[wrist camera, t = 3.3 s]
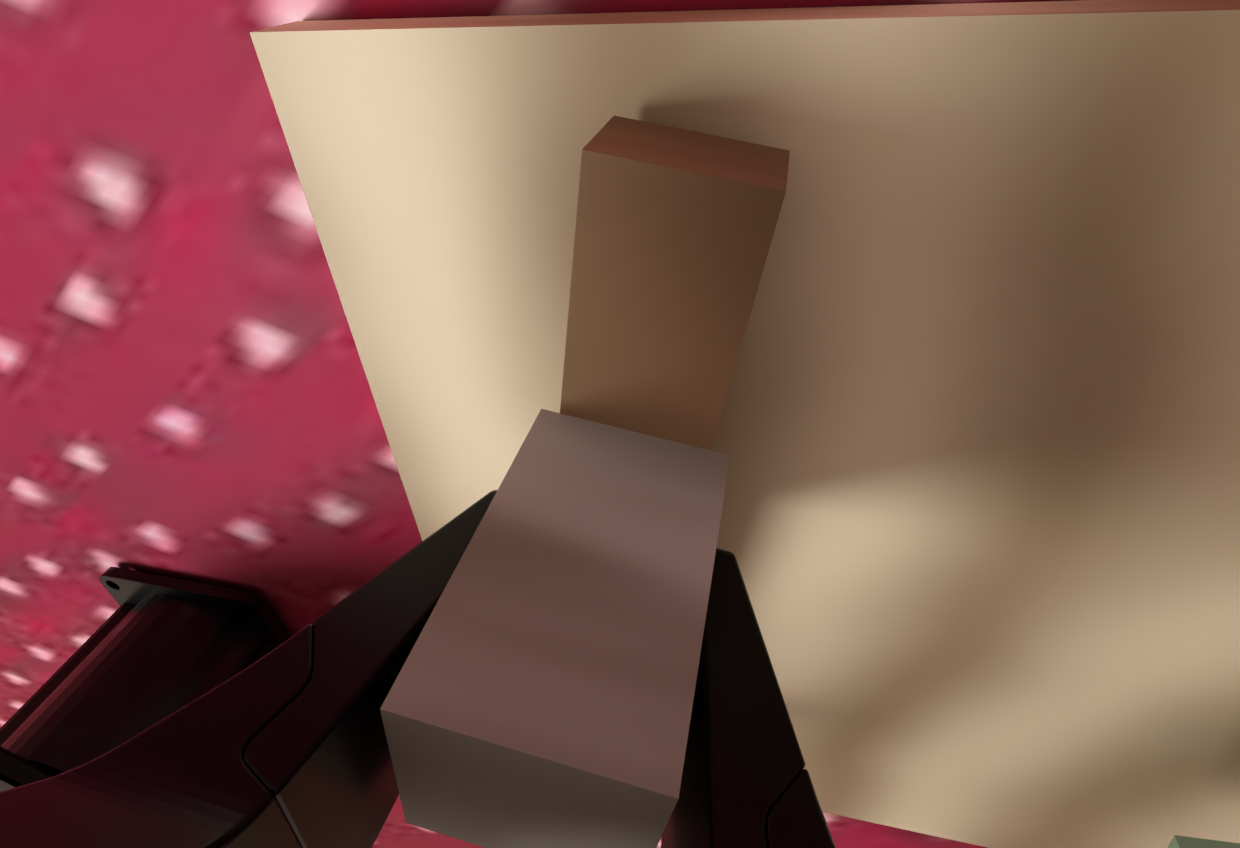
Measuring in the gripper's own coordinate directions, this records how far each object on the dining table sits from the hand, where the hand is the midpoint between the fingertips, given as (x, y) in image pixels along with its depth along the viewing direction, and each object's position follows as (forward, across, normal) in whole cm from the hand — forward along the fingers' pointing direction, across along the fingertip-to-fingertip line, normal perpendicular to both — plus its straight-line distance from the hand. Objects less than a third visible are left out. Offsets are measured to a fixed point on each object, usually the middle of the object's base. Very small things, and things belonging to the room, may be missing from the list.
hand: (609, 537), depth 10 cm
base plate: (+4, -7, +3) cm, 8 cm away
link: (+2, 0, +3) cm, 4 cm away
